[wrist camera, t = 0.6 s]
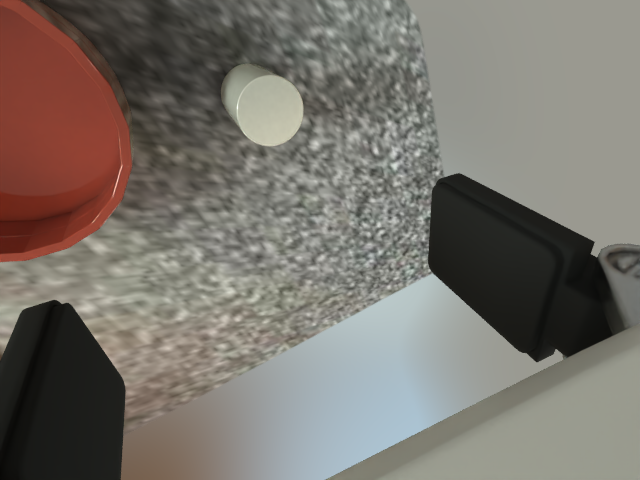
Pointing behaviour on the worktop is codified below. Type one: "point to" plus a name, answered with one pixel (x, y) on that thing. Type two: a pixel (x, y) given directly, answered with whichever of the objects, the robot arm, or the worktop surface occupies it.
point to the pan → (56, 133)
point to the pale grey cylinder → (262, 104)
